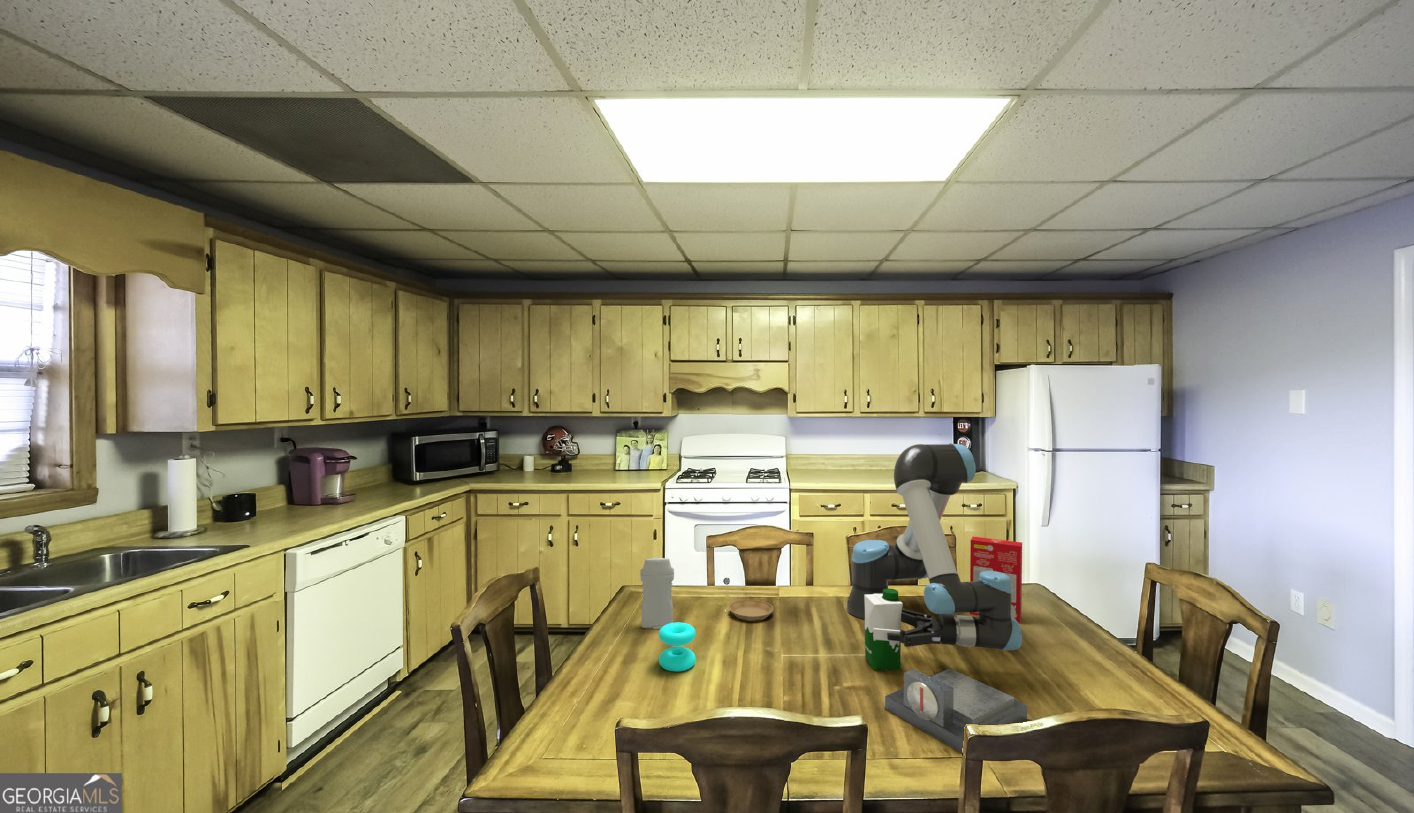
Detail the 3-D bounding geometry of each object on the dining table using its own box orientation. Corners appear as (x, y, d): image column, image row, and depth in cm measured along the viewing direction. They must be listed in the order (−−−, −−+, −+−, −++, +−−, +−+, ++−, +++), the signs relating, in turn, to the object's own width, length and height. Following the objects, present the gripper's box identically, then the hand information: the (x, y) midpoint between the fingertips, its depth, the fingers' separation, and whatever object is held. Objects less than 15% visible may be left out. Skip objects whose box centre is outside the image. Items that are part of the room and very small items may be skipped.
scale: (883, 709, 131) (883, 664, 130) (947, 680, 144) (948, 639, 144) (963, 755, 114) (963, 704, 114) (1027, 718, 127) (1027, 672, 127)
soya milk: (905, 671, 149) (906, 596, 148) (872, 672, 148) (872, 597, 148) (891, 655, 158) (892, 585, 157) (860, 657, 157) (860, 586, 156)
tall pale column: (673, 623, 180) (673, 555, 179) (674, 628, 176) (674, 558, 175) (640, 624, 179) (640, 556, 179) (640, 630, 175) (640, 559, 174)
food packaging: (1021, 618, 184) (1022, 542, 184) (1020, 623, 180) (1021, 546, 179) (972, 609, 192) (972, 536, 191) (969, 614, 188) (970, 539, 187)
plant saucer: (749, 603, 198) (749, 596, 198) (782, 615, 187) (782, 607, 187) (719, 615, 188) (719, 607, 187) (753, 628, 177) (753, 619, 177)
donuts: (652, 632, 149) (667, 618, 159) (652, 670, 150) (667, 653, 159) (687, 638, 146) (700, 623, 155) (687, 676, 146) (700, 659, 156)
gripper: (966, 666, 136) (875, 657, 141) (945, 625, 161) (868, 619, 165) (966, 635, 136) (875, 628, 141) (945, 599, 161) (868, 593, 165)
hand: (871, 623), depth 153 cm, fingers open, 13 cm apart
